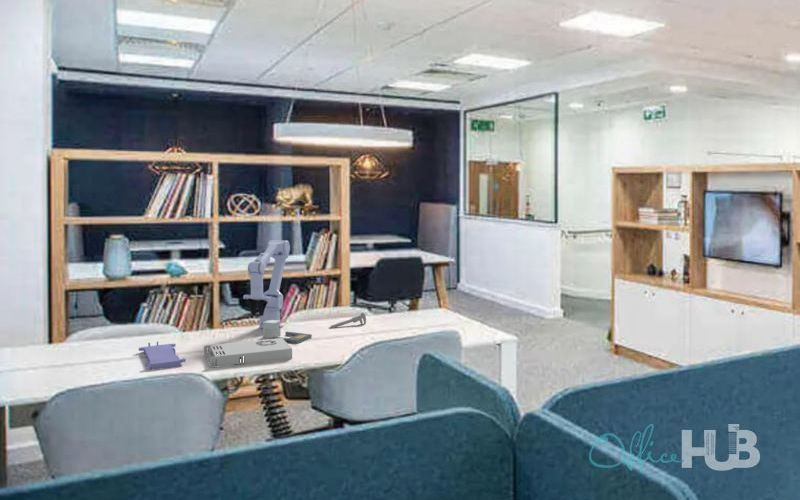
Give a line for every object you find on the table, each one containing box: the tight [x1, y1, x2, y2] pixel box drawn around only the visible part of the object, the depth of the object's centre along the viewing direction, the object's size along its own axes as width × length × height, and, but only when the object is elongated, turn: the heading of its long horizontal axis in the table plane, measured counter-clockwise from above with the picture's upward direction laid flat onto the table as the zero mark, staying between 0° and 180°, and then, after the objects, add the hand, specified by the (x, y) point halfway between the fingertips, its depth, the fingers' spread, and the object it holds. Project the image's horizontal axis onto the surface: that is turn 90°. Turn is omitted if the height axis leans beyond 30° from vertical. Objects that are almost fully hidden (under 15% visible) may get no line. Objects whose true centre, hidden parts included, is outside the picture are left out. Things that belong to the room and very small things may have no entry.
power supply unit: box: [203, 337, 293, 368], centre depth 267 cm, size 19×33×5 cm, turn 113°
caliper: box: [328, 311, 367, 329], centre depth 323 cm, size 20×1×6 cm, turn 121°
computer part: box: [138, 341, 187, 370], centre depth 265 cm, size 30×4×15 cm
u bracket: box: [271, 331, 313, 345], centre depth 297 cm, size 14×12×2 cm
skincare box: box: [262, 320, 281, 339], centre depth 301 cm, size 6×6×7 cm
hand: (257, 315), depth 304 cm, fingers open, 4 cm apart
